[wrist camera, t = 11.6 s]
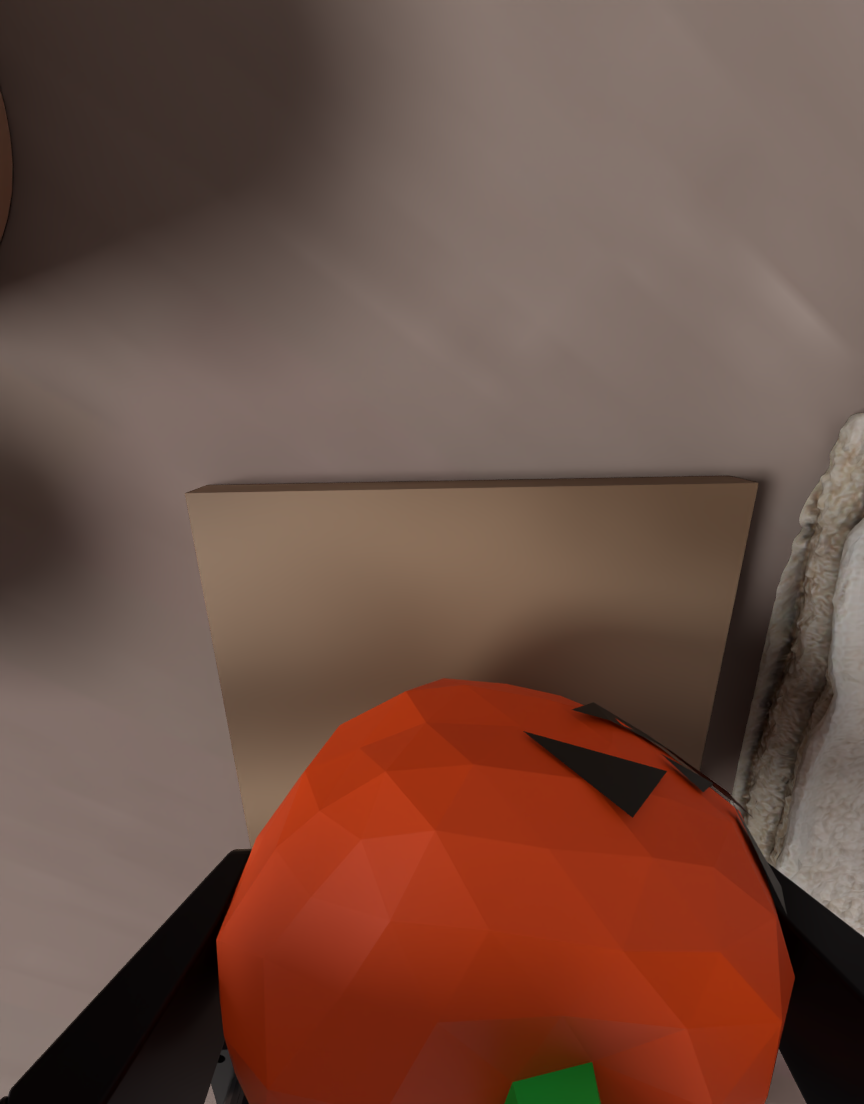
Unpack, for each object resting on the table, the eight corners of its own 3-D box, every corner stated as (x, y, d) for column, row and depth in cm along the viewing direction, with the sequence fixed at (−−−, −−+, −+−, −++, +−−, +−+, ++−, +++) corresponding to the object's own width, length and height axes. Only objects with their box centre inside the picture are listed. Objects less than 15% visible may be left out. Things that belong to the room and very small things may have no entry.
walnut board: (657, 861, 14) (674, 895, 13) (272, 869, 14) (261, 902, 13) (728, 475, 10) (758, 483, 10) (207, 484, 10) (184, 493, 10)
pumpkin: (284, 628, 9) (-48, 1016, 3) (683, 651, 9) (1255, 1056, 3) (281, 931, 10) (51, 1681, 4) (631, 945, 10) (947, 1671, 4)
